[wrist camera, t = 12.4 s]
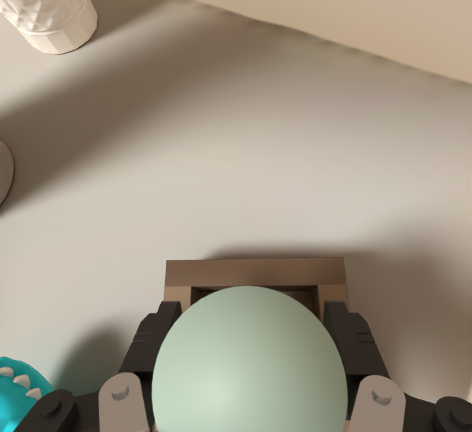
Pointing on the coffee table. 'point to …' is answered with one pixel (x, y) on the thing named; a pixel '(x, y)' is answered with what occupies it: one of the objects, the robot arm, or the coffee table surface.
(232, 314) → the post
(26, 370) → the toy shark
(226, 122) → the coffee table surface
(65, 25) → the white cup
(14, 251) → the coffee table surface
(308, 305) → the socket base
